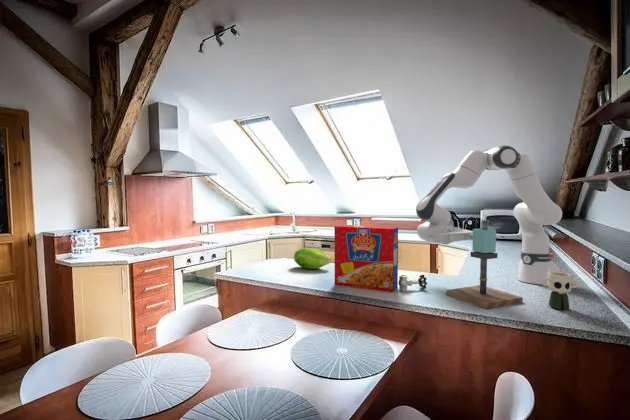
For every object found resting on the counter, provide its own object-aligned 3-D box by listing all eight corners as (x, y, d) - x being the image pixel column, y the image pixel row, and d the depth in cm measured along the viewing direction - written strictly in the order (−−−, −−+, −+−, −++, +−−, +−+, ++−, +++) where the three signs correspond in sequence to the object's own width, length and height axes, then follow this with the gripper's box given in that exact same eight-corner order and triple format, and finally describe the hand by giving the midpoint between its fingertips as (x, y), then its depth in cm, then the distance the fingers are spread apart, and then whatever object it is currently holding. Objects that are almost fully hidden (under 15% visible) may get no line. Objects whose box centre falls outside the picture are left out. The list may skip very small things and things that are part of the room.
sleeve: (483, 249, 144) (483, 228, 143) (495, 251, 138) (496, 229, 138) (472, 250, 142) (472, 228, 141) (484, 252, 136) (485, 230, 136)
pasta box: (334, 284, 163) (334, 226, 161) (341, 281, 170) (341, 224, 168) (392, 292, 150) (393, 229, 148) (397, 288, 157) (398, 227, 155)
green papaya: (324, 273, 187) (324, 251, 187) (288, 269, 197) (288, 249, 197) (334, 268, 199) (334, 248, 198) (299, 264, 209) (299, 245, 208)
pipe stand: (480, 289, 154) (481, 218, 152) (522, 302, 136) (524, 221, 134) (446, 294, 146) (447, 219, 145) (485, 309, 128) (487, 223, 126)
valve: (401, 292, 150) (427, 291, 152) (401, 277, 150) (427, 276, 152) (395, 288, 157) (420, 287, 159) (395, 274, 156) (420, 273, 158)
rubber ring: (482, 255, 145) (482, 250, 145) (497, 258, 138) (497, 253, 138) (470, 256, 142) (470, 251, 142) (484, 259, 135) (484, 254, 135)
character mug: (545, 309, 127) (546, 275, 126) (538, 303, 134) (539, 270, 133) (580, 312, 124) (581, 276, 123) (571, 306, 131) (572, 272, 130)
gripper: (426, 229, 156) (449, 232, 143) (460, 227, 164) (485, 229, 151) (426, 242, 156) (449, 247, 144) (460, 240, 164) (484, 244, 151)
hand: (467, 238), depth 147 cm, fingers open, 8 cm apart
